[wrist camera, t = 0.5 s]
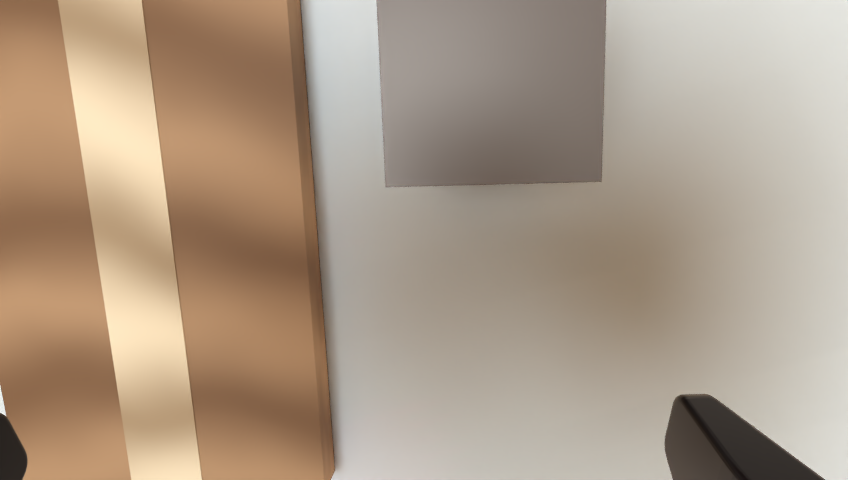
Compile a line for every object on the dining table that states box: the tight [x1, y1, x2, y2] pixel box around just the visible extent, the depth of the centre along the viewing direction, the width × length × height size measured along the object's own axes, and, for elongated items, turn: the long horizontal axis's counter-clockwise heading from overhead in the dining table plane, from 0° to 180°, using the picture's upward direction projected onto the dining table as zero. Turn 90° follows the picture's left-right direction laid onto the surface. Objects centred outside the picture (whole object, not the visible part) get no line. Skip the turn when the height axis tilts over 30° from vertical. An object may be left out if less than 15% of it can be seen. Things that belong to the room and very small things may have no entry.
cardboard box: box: [0, 0, 335, 480], centre depth 22 cm, size 20×13×2 cm, turn 2°
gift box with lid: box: [377, 0, 606, 187], centre depth 16 cm, size 5×5×9 cm
